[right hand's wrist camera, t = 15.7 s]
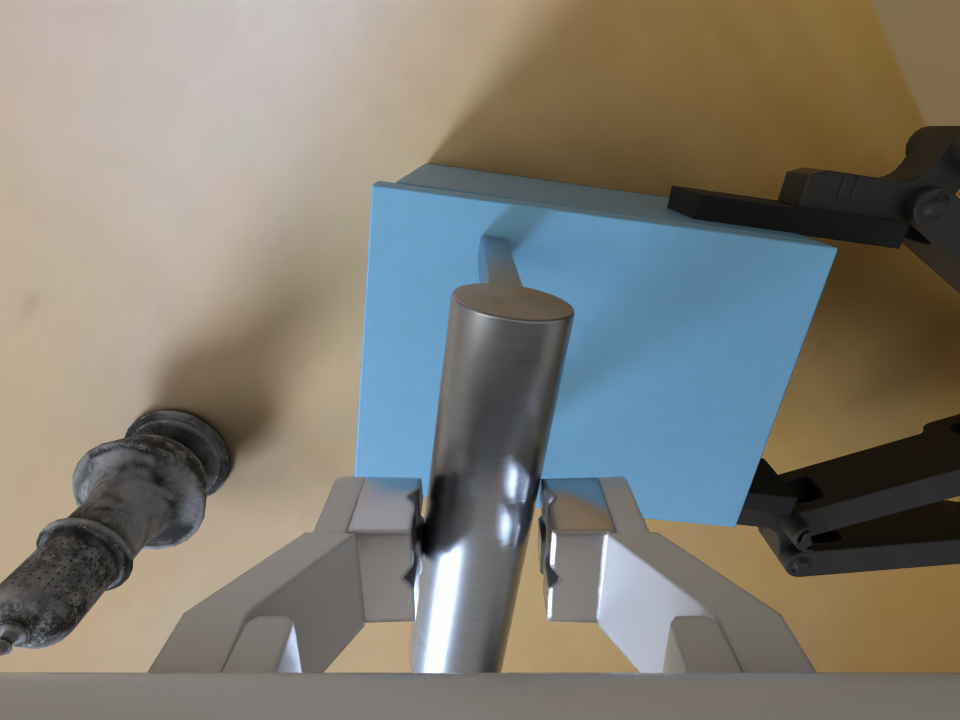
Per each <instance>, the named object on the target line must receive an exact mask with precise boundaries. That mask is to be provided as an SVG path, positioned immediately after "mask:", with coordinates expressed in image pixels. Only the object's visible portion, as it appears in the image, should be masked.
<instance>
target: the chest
mask: <svg viewBox="0 0 960 720" xmlns="http://www.w3.org/2000/svg"><path fill="white" fill-rule="evenodd" d="M396 183H397V184H404V185H411V186H419V187H426V188H433V189H441V190H448V191H455V192H463V193H470V194H477V195H485V196H492V197H499V198H507V199H514V200H521V201H529V202H536V203H543V204H550V205H558V206H565V207H572V208H580V209H587V210H594V211H602V212H609V213H616V214H624V215H631V216H638V217H646V218H653V219H660V220H668V221H675V222H682V223H690V224H697V225H704V226H712V227H719V228H726V229H734V230H741V231H748V232H755V233H763V234H770V235H777V236H785V237H792V238H799V239H807V240H814V239H811V238H808V237H805V236H802V235H799V234H796V233H790V232H783V231H776V230H768V229H761V228H754V227H747V226H740V225H733V224H726V223H718V222H711V221H704V220H697V219H692V218H690V217H688V216H685V215H683V214H681V213H679V212H676V211H674V210H672V209H669V208H667V205H668V201H669V197H662V196H655V195H648V194H641V193H634V192H626V191H619V190H612V189H605V188H598V187H591V186H584V185H577V184H570V183H563V182H556V181H549V180H542V179H535V178H528V177H521V176H514V175H507V174H499V173H492V172H485V171H478V170H471V169H464V168H457V167H450V166H443V165H436V164H429V163H427V164H424V165H422V166H421V167H419V168H418V169H416V170H414V171H413V172H411V173H410V174H408V175H406V176H405V177H403V178H402V179H400V180H398V181H397V182H396ZM814 241H816V240H814Z"/></svg>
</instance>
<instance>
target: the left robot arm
mask: <svg viewBox="0 0 960 720" xmlns="http://www.w3.org/2000/svg"><path fill="white" fill-rule="evenodd" d="M906 156H907V157H906V158H905V159H904V160H903V162H902V163H901V164H900V165H899V167H898V168H897V169H896V170H894V171H893V172H892V173H890V174H888V175H886V176H883V177H879V178H875V177H868V176H861V175H854V174H848V173H841V172H834V171H827V170H819V169H811V168H800V169H796V170H792V171H788V172H787V173H786V176H785V180H784V183H783V186H782V189H781V192H780V195H779V198H778V201H776V200H769V199H762V198H755V197H748V196H741V195H734V194H727V193H720V192H713V191H706V190H699V189H692V188H685V187H678V186H672V189H671V193H670V197H669V201H668V205H667V208H669V209H672V210H674V211H676V212H679V213H681V214H683V215H685V216H688V217H690V218H692V219H697V220H704V221H711V222H718V223H726V224H733V225H740V226H747V227H754V228H761V229H768V230H776V231H783V232H790V233H796V234H799V235H805V236H812V237H820V238H827V239H834V240H841V241H848V242H855V243H862V244H869V245H876V246H883V247H891V248H898V249H899V248H900V246H901V243H903V244H904V245H906V246H907V247H908V248H909V249H910V250H911V251H912V252H914V253H915V254H916V255H917V256H918V257H919V258H920V259H921V260H923V261H924V262H925V263H926V264H927V265H928V266H929V267H930V268H932V269H933V270H934V271H935V272H936V273H937V274H938V275H940V276H941V277H942V278H943V279H944V280H945V281H946V282H947V283H949V284H950V285H951V286H952V287H953V288H954V289H955V290H957V291H958V292H959V293H960V199H959V198H958V197H957V196H956V195H955V193H956V192H957V191H958V190H959V189H960V126H928V127H923V128H921V129H919V130H918V131H916V132H915V133H914V134H913V135H912V136H911V137H910V138H909V140H908V143H907V145H906ZM956 496H960V414H958V415H955V416H951V417H948V418H944V419H941V420H937V421H934V422H930V423H928V424H926V425H925V426H924V427H923V433H921V434H919V435H915V436H912V437H908V438H905V439H901V440H898V441H894V442H891V443H887V444H884V445H880V446H877V447H873V448H870V449H867V450H863V451H860V452H856V453H853V454H849V455H846V456H842V457H839V458H835V459H832V460H828V461H825V462H821V463H818V464H814V465H811V466H808V467H804V468H801V469H797V470H794V471H790V472H787V473H783V474H780V475H777V473H776V472H775V471H774V470H773V469H772V468H771V466H770V465H769V464H768V463H767V462H766V460H765V459H763V458H761V459H760V461H759V464H758V467H757V470H756V472H755V475H754V478H753V480H752V483H751V486H750V489H749V491H748V494H747V497H746V499H745V502H744V505H743V507H742V510H741V513H740V516H739V518H738V521H737V524H740V525H749V526H757V527H758V528H759V532H760V533H761V535H762V536H763V538H764V539H765V540H766V542H767V543H768V545H769V546H770V548H771V549H772V551H773V552H774V554H775V555H776V557H777V558H778V559H779V561H780V562H781V564H782V565H783V567H784V568H785V570H786V571H787V572H788V574H790V575H792V576H796V577H803V576H815V575H827V574H839V573H852V572H864V571H876V570H888V569H900V568H912V567H925V566H937V565H949V564H960V501H959V502H954V501H946V500H945V499H949V498H953V497H956Z"/></svg>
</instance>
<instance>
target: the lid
mask: <svg viewBox="0 0 960 720" xmlns="http://www.w3.org/2000/svg"><path fill="white" fill-rule="evenodd" d="M837 250H838V248H837V247H834V246H831V245H828V244H825V243H822V242H819V241H814V240H807V239H799V238H792V237H785V236H777V235H770V234H763V233H755V232H748V231H741V230H734V229H726V228H719V227H712V226H704V225H697V224H690V223H682V222H675V221H668V220H660V219H653V218H646V217H638V216H631V215H624V214H616V213H609V212H602V211H594V210H587V209H580V208H572V207H565V206H558V205H550V204H543V203H536V202H529V201H521V200H514V199H507V198H499V197H492V196H485V195H477V194H470V193H463V192H455V191H448V190H441V189H433V188H426V187H419V186H411V185H404V184H397V183H389V182H382V181H378V182H377V183H375V184H373V186H372V197H371V213H370V229H369V246H368V262H367V278H366V295H365V311H364V327H363V344H362V360H361V376H360V392H359V409H358V425H357V441H356V458H355V474H354V477H366V478H367V477H402V478H421V480H422V490H423V497H427V502H426V510H425V518H424V558H423V567H422V572H421V573H420V574H419V598H418V605H417V612H416V620H415V621H412V627H411V636H410V644H409V662H410V666H411V668H412V670H413V673H501V670H502V666H503V661H504V656H505V651H506V646H507V641H508V636H509V632H510V627H511V622H512V617H513V612H514V607H515V602H516V598H517V593H518V588H519V583H520V578H521V573H522V568H523V564H524V559H525V554H526V549H527V544H528V539H529V534H530V529H531V525H532V520H533V515H534V510H535V507H536V508H541V506H540V499H539V497H540V483H541V479H552V478H596V477H616V476H623V477H625V478H626V479H627V481H628V483H629V485H630V488H631V490H632V492H633V495H634V497H635V499H636V502H637V504H638V506H639V509H640V511H641V513H642V516H643V518H648V519H658V520H669V521H679V522H689V523H699V524H709V525H720V526H730V527H735V526H736V524H737V521H738V518H739V516H740V513H741V510H742V507H743V505H744V502H745V499H746V497H747V494H748V491H749V489H750V486H751V483H752V480H753V478H754V475H755V472H756V470H757V467H758V464H759V461H760V459H761V456H762V453H763V451H764V448H765V445H766V443H767V440H768V437H769V434H770V432H771V429H772V426H773V424H774V421H775V418H776V415H777V413H778V410H779V407H780V405H781V402H782V399H783V397H784V394H785V391H786V388H787V386H788V383H789V380H790V378H791V375H792V372H793V369H794V367H795V364H796V361H797V359H798V356H799V353H800V351H801V348H802V345H803V342H804V340H805V337H806V334H807V332H808V329H809V326H810V323H811V321H812V318H813V315H814V313H815V310H816V307H817V305H818V302H819V299H820V296H821V294H822V291H823V288H824V286H825V283H826V280H827V277H828V275H829V272H830V269H831V267H832V264H833V261H834V259H835V256H836V253H837Z"/></svg>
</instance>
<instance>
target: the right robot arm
mask: <svg viewBox="0 0 960 720" xmlns="http://www.w3.org/2000/svg"><path fill="white" fill-rule="evenodd" d="M539 499H540V506H541V512H542V515H541V517H540V518H539V519H538V553H539V563H540V571H541V573H542V574H543V575H544V583H543V593H544V600H545V607H546V614H547V620H548V621H560V622H596V623H598V625H599V626H600V628H601V629H602V630H603V631H604V632H605V633H606V634H607V636H608V637H609V638H610V639H611V640H612V641H613V642H614V643H615V645H616V646H617V647H618V648H619V649H620V650H621V651H622V653H623V654H624V655H625V656H626V657H627V658H628V659H629V661H630V662H631V663H632V664H633V665H634V666H635V667H636V668H637V670H638V671H639V672H640V673H323V672H324V671H325V670H326V669H327V668H328V667H329V665H330V664H331V663H332V662H333V661H334V660H335V659H336V657H337V656H338V655H339V654H340V653H341V652H342V651H343V649H344V648H345V647H346V646H347V645H348V644H349V643H350V642H351V640H352V639H353V638H354V637H355V636H356V635H357V634H358V632H359V631H360V630H361V629H362V628H363V627H364V626H365V625H364V623H366V622H401V621H415V620H416V612H417V605H418V598H419V574H420V573H421V572H422V567H423V558H424V518H423V517H422V516H421V509H422V502H423V490H422V480H421V478H402V477H367V478H366V477H339V478H337V479H336V480H335V482H334V484H333V486H332V489H331V491H330V494H329V496H328V498H327V501H326V503H325V506H324V508H323V510H322V513H321V515H320V518H319V520H318V522H317V525H316V527H315V530H314V532H313V533H304V534H302V535H301V536H299V537H298V538H296V539H295V540H293V541H292V542H290V543H289V544H287V545H286V546H284V547H283V548H281V549H280V550H278V551H277V552H275V553H274V554H272V555H271V556H269V557H268V558H266V559H265V560H263V561H262V562H260V563H259V564H257V565H256V566H254V567H253V568H251V569H250V570H248V571H247V572H245V573H244V574H242V575H241V576H239V577H238V578H236V579H235V580H233V581H232V582H230V583H229V584H227V585H226V586H224V587H223V588H221V589H220V590H218V591H217V592H215V593H214V594H212V595H211V596H209V597H208V598H206V599H205V600H203V601H202V602H200V603H199V604H197V605H196V606H194V607H193V608H191V609H190V610H188V611H187V612H185V613H184V614H183V616H182V617H181V619H180V620H179V622H178V624H177V625H176V627H175V629H174V630H173V632H172V633H171V635H170V637H169V638H168V640H167V642H166V643H165V645H164V646H163V648H162V650H161V651H160V653H159V654H158V656H157V658H156V659H155V661H154V663H153V664H152V666H151V667H150V669H149V671H148V672H147V673H0V720H960V673H817V672H816V670H815V669H814V667H813V666H812V664H811V662H810V661H809V659H808V657H807V656H806V654H805V653H804V651H803V649H802V648H801V646H800V644H799V643H798V641H797V640H796V638H795V636H794V635H793V633H792V632H791V630H790V628H789V627H788V625H787V623H786V622H785V620H784V619H783V617H782V615H781V614H780V613H778V612H777V611H775V610H774V609H772V608H771V607H769V606H768V605H766V604H765V603H763V602H762V601H760V600H758V599H757V598H755V597H754V596H752V595H751V594H749V593H748V592H746V591H745V590H743V589H742V588H740V587H739V586H737V585H736V584H734V583H733V582H731V581H730V580H728V579H727V578H725V577H724V576H722V575H721V574H719V573H718V572H716V571H715V570H713V569H712V568H710V567H709V566H707V565H706V564H704V563H703V562H701V561H700V560H698V559H697V558H695V557H694V556H692V555H691V554H689V553H688V552H686V551H685V550H683V549H682V548H680V547H679V546H677V545H676V544H674V543H673V542H671V541H670V540H668V539H667V538H665V537H664V536H662V535H661V534H659V533H650V532H649V530H648V527H647V525H646V523H645V520H644V518H643V516H642V513H641V511H640V509H639V506H638V504H637V502H636V499H635V497H634V495H633V492H632V490H631V488H630V485H629V483H628V481H627V479H626V478H625V477H623V476H616V477H596V478H552V479H541V483H540V497H539Z"/></svg>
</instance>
